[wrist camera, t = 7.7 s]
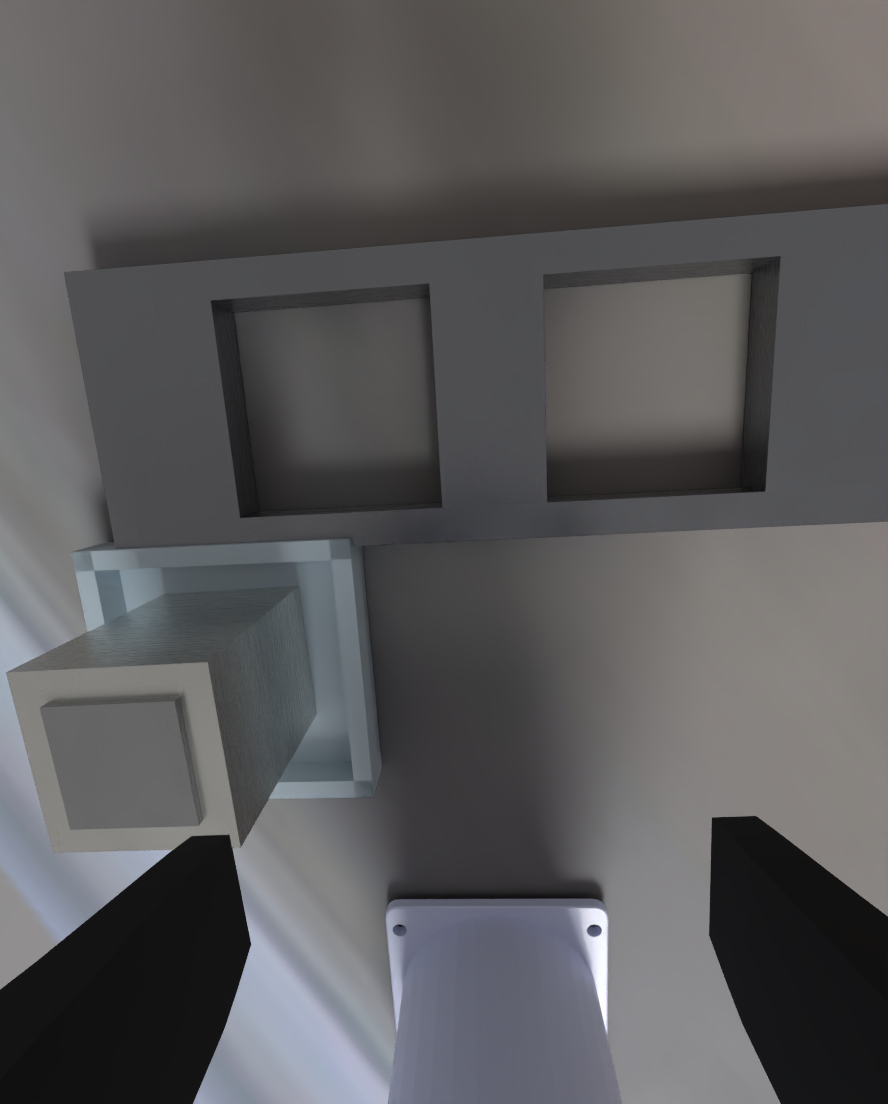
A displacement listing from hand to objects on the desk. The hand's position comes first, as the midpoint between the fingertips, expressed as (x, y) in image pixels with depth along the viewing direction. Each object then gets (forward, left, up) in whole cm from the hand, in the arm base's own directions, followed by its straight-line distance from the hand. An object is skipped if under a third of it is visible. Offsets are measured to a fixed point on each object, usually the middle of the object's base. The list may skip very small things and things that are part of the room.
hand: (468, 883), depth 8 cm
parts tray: (0, +8, -10) cm, 12 cm away
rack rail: (+8, -2, -10) cm, 13 cm away
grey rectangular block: (0, +8, -9) cm, 12 cm away
